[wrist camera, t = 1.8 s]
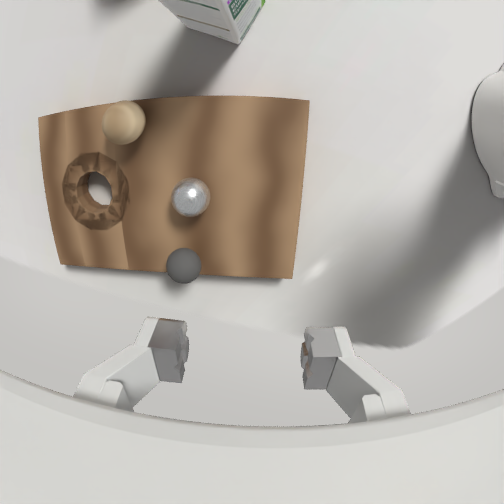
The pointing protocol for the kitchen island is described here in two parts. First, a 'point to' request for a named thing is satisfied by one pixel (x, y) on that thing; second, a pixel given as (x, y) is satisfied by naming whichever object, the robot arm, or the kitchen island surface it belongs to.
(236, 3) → the syrup box
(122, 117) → the beech ball
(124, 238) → the board
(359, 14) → the kitchen island surface
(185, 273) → the black rubber ball
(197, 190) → the steel ball
